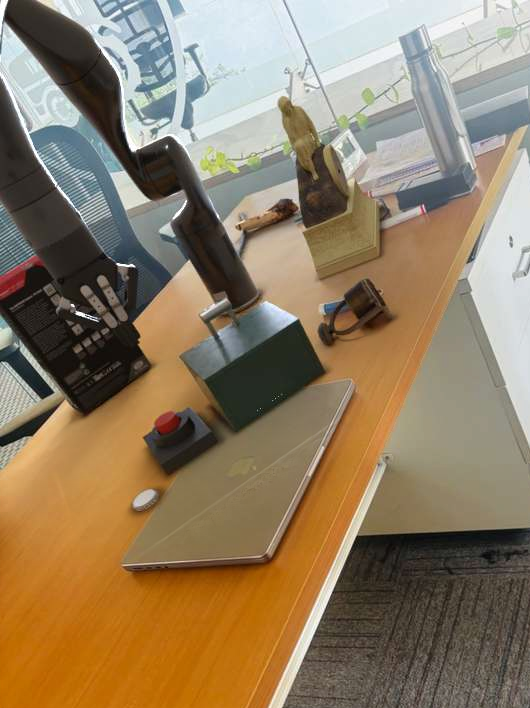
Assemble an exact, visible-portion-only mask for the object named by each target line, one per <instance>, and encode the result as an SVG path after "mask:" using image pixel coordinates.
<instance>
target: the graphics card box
mask: <svg viewBox="0 0 530 708" xmlns="http://www.w3.org/2000/svg"><path fill="white" fill-rule="evenodd" d="M61 298H62V296H61V294H60V293H59V290H58V285H57V283H56V281H55V280H54V278H53V277H52V276H51V274H50V273H49V272H48V270H47V269H46V268H45V266H44V265H43V263H42V262H41V261H40V259H39V258H38V257H37V255H36V254H35V255H33V256H31V257H30V258H28V259H26V260H25V261H23V262H22V263H20V264H18V265H17V266H15V267H13V268H12V269H10V270H8V271H7V272H5V273H3V274H2V275H0V317H1V319H3V320H4V322H5V323H6V324H7V325H8V327H9V328H10V330H11V331H12V332H13V333H14V335H15V336H16V338H17V339H19V341H20V342H21V343H22V345H24V347H25V349H26V350H27V351H28V352H29V354H30V355H31V356H32V358H33V359H34V360H35V362H36V363H37V364H38V365H39V366H40V368H41V369H42V370H43V372H44V373H45V374H46V376H47V377H48V378H49V379H50V381H51V382H52V383H53V385H54V386H55V387H56V388H57V390H58V391H59V392H60V394H61V395H62V396H63V398H65V400H66V402H67V403H68V404H69V405H70V406H71V408H72V409H74V410H75V411H77V412H79V413H81V414H83V415H86V414H88V413H89V412H90V411H92V410H94V408H96V407H97V406H99V405H100V404H102V403H103V402H104V401H105V400H107V399H109V398H110V397H111V396H112V395H114V394H116V393H117V392H118V391H119V390H121V389H122V388H124V387H125V386H127V385H128V384H129V383H131V382H132V381H134V379H136V378H138V377H140V375H142V374H143V373H144V372H146V371H147V370H149V369H150V368H151V367H152V363H151V362H150V360H149V359H148V357H147V356H146V354H145V353H144V351H143V349H142V348H141V346H140V344H138V345H136V346H134V347H133V348H131V347H130V346H129V345H128V346H124V345H123V344H122V343H121V341H120V340H119V339H118V337H117V336H116V334H115V333H114V332H113V330H112V329H110V328H105V329H103V330H101V331H97V330H94V329H91V328H88V327H85V326H82V325H79V324H76V323H73V322H70V321H67V320H64V319H61V318H60V317H59V316H58V315H57V313H56V308H57V307H58V306H59V304H60V301H61ZM70 304H72V305H74V307H75V308H76V311H77V312H80V313H83V314H86V315H89V316H92V317H95V318H102V317H101V315H100V314H99V313H98V312H97V311H96V309H95V308H88V307H85V306H83V305H80V304H77V303H75V302H72V301H70ZM102 304H103V305H104V306H105V308H106V309H107V310H108V311H109V313H110V314H111V315H112V316H113V317H114V318H115V319H116V321H118V322H119V319H118V317H117V316H116V314H115V313H114V311H113V309H112V307H111V306H110V304H109V303H108V301H107V300H106V301H104V302H103V303H102ZM119 323H120V322H119Z"/></svg>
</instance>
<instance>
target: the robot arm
mask: <svg viewBox="0 0 530 708" xmlns="http://www.w3.org/2000/svg"><path fill="white" fill-rule="evenodd" d="M4 24H6V26H7V27H8V28H9V29H10V30H11V31H12V32H13V33H14V35H15V36H16V37H17V38H18V39H19V41H20V42H21V43H22V44H23V45H24V46H25V48H26V49H27V51H29V52H30V53H31V55H32V57H34V58H35V60H36V61H37V62H38V63H39V65H40V66H41V67H42V69H43V70H44V71H45V73H46V74H47V75H48V76H49V77H50V79H51V81H53V83H54V84H55V86H56V87H57V88H58V89H59V90H60V91H61V93H62V94H63V95H64V96H65V98H67V100H68V101H69V102H70V103H71V104H72V105H73V106H74V107H75V108H76V110H77V111H78V113H80V115H82V117H83V118H84V119H85V121H87V122H88V124H89V125H90V126H91V127H92V129H93V130H94V131H95V132H96V134H98V136H99V137H100V139H101V140H102V141H103V142H104V144H105V145H106V146H107V148H108V149H109V150H110V152H111V153H112V155H113V156H114V158H115V159H116V160H117V162H118V163H119V164H120V166H121V167H122V168H123V170H124V172H125V173H126V174H127V176H128V178H130V180H131V181H132V182H133V184H134V185H135V187H136V188H137V189H138V191H139V192H140V193H141V194H142V195H143V196H144V197H145V198H146V199H148V200H149V201H151V202H155V203H156V202H160V201H163V200H166V199H168V198H170V197H172V196H174V195H177V194H180V193H181V192H183V194H184V196H185V198H186V200H185V203H184V204H183V206H182V208H181V209H180V210H179V211H178V212H176V214H175V215H174V216H173V217H172V219H171V220H170V229H171V231H172V232H173V234H174V236H175V237H176V239H177V241H178V242H179V244H180V245H181V248H182V249H183V251H184V253H185V254H186V256H187V258H188V260H189V262H190V263H191V265H192V267H193V268H194V270H195V272H196V274H197V276H198V277H199V279H200V280H201V282H202V284H203V285H204V287H205V289H206V291H207V293H208V294H209V296H210V298H211V300H212V301H213V303H214V304H215V303H217V302H219V301H220V300H222V299H223V298H225V297H226V298H227V299H228V300H229V302H230V303H231V305H232V310H233V312H234V314H237V313H240V312H242V311H243V310H245V309H247V308H249V307H250V306H251V305H252V304H254V303H255V302H256V301H257V300H258V299H259V297H260V295H261V292H260V291H259V289H258V288H257V286H256V284H255V282H254V280H253V278H252V276H251V274H250V272H249V271H248V269H247V267H246V265H245V263H244V261H243V260H242V258H241V254H242V251H243V248H244V246H245V241H246V238H247V232H248V231H246V230H242V237H241V240H240V243H239V246H238V249H237V247H236V246H235V244H234V242H233V240H232V239H231V237H230V235H229V233H228V230H227V229H226V228H225V226H224V223H223V221H222V220H221V218H220V215H219V214H218V212H217V211H216V209H215V206H214V205H213V201H212V199H211V198H210V196H209V194H208V192H207V190H206V188H205V186H204V184H203V182H202V179H201V178H200V175H199V174H198V171H197V169H196V167H195V165H194V163H193V160H192V159H191V157H190V154H189V152H188V151H187V149H186V147H185V145H184V144H183V143H182V142H181V140H180V139H179V138H178V137H177V136H175V135H174V134H167V135H164V136H162V137H159V138H158V139H155V140H153V141H151V142H149V143H147V144H145V145H144V146H141V147H137V146H136V145H135V144H134V143H133V141H132V139H131V138H130V136H129V133H128V130H127V123H126V119H125V117H126V116H125V99H124V98H125V97H124V88H123V84H122V83H123V82H122V79H121V74H120V72H119V71H118V69H117V67H116V66H115V64H114V63H113V61H112V60H111V59H110V57H109V56H108V54H107V53H106V52H105V51H104V49H103V47H102V46H101V45H100V43H99V42H98V41H97V39H96V38H95V36H93V34H92V33H91V32H90V31H89V30H88V29H86V28H85V27H84V26H83V25H82V24H79V23H78V22H77V21H75V20H73V19H72V18H70V17H69V16H66V15H65V14H63V13H61V12H59V11H58V10H56V9H54V8H52V7H50V6H48V5H47V4H45V3H42V2H41V1H39V0H0V61H1V60H2V48H3V36H4ZM0 204H1V205H2V207H3V208H4V209H5V211H6V212H7V214H8V215H9V216H10V218H11V220H12V222H13V223H14V226H15V227H16V229H17V231H18V232H19V233H20V235H21V236H22V238H23V239H24V241H25V243H26V244H27V246H28V247H30V248H31V250H32V251H33V253H34V254H35V255H37V257H38V258H39V259H40V261H41V262H42V263H43V265H44V266H45V268H46V269H47V270H48V272H49V273H50V274H51V276H52V277H53V278H54V280H55V281H56V283H57V285H58V290H59V293H60V294H61V296H62V298H61V301H60V304H59V306H58V307H57V308H56V313H57V315H58V316H59V317H60V318H61V319H64V320H67V321H70V322H73V323H76V324H79V325H82V326H85V327H88V328H91V329H94V330H97V331H101V330H103V329H105V328H110V329H112V330H113V332H114V333H115V334H116V336H117V337H118V339H119V340H120V341H121V343H122V344H123V345H124V346H128V345H129V346H130V347H131V348H133V347H134V346H136V345H140V344H141V342H140V341H139V340H140V339H141V337H142V336H141V333H140V332H139V331H138V329H137V328H136V326H135V325H134V323H133V322H132V320H131V318H130V315H131V313H132V312H133V311H135V310H136V308H137V297H138V286H139V285H138V284H139V269H138V267H136V266H135V265H134V264H132V263H128V264H121V263H117V262H116V260H115V259H113V258H112V257H110V256H109V255H108V254H107V253H106V252H105V250H104V249H103V247H102V246H101V244H100V243H99V242H98V240H97V239H96V237H95V236H94V234H93V232H92V231H91V229H90V228H89V226H88V224H87V223H86V222H85V220H84V218H82V214H81V213H80V211H78V209H77V208H76V207H75V205H74V204H73V202H72V201H71V200H70V198H69V197H68V196H67V195H66V193H64V191H63V190H62V189H61V187H60V186H59V185H58V183H57V182H56V181H55V179H54V177H53V176H52V175H51V173H50V171H49V170H48V169H47V167H46V165H45V164H44V162H43V161H42V159H41V158H40V156H39V155H38V153H37V151H36V148H35V147H34V145H33V141H32V139H31V137H30V135H29V132H28V129H27V128H26V125H25V122H24V120H23V117H22V115H21V111H20V109H19V106H18V103H17V101H16V99H15V95H14V94H13V91H12V89H11V86H10V84H9V81H8V80H7V79H6V78H5V76H4V75H3V73H2V72H1V71H0ZM241 213H242V215H243V217H244V220H246V218H245V215H244V214H243V212H242V211H241ZM238 215H239V217H240V219H241V222H242V221H244V220H242V217H241V215H240V213H239V211H238ZM119 275H120V276H119ZM119 277H120V278H121V280H122V281H124V290H123V291H124V292H123V303H121V302H120V300H119V298H118V297H117V295H116V294H117V293H118V283H119V281H118V280H119V279H118V278H119ZM106 300H107V301H108V303H109V304H110V306H111V307H112V309H113V311H114V313H115V314H116V316H117V317H118V319H119V322H120V323H119V322H118V321H116V319H115V318H114V317H113V316H112V315H111V314H110V313H109V311H108V310H107V309H106V308H105V306H104V305H103V304H102V303H103V302H104V301H106ZM70 301H72V302H75V303H77V304H80V305H83V306H85V307H88V308H95V309H96V311H97V312H98V313H99V314H100V315H101V317H102V318H95V317H92V316H89V315H86V314H83V313H80V312H77V311H76V308H75V307H74V305H72V304H70ZM220 316H230V315H229V313H228V311H226V312H224V313H223V314H221V315H220Z"/></svg>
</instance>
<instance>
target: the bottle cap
mask: <svg viewBox="0 0 530 708" xmlns="http://www.w3.org/2000/svg"><path fill="white" fill-rule="evenodd" d="M159 495H160V494H159V492H158V491H157V490H156V489H155V488H148V489H144V491H142V492H140V493H139V494H138V495H136V497H134V499H133V500H132V503H131V507H132V508H133V509H134V511H136V512H141V511H142V512H143V511H145V510H147V509H149V508H150V507H152V506H153V505H154V504H155V503H156V502H157V501H158V499H159Z"/></svg>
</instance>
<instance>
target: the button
mask: <svg viewBox="0 0 530 708" xmlns="http://www.w3.org/2000/svg"><path fill="white" fill-rule="evenodd" d="M175 413H176V412H175V411H172V410H171V411H167V412H164V413H162V414H161V415H159V416H158V417H157V418H156V419H155V420H154V422H153V426H154V427H156V428H157V429H158V431H159V432H160V434H165V433H168V432H170V431H172V430H173V429H175V428H176V427H177V426H178V425H179V424H180V422H181V421H180V419H179V418H178V416H177V415H176V414H175Z"/></svg>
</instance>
